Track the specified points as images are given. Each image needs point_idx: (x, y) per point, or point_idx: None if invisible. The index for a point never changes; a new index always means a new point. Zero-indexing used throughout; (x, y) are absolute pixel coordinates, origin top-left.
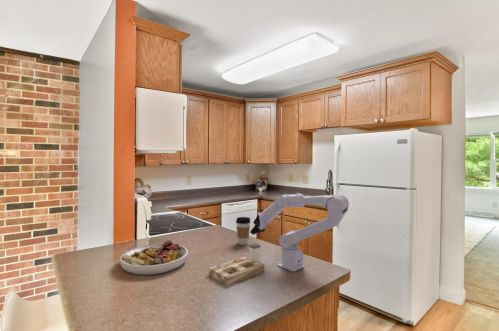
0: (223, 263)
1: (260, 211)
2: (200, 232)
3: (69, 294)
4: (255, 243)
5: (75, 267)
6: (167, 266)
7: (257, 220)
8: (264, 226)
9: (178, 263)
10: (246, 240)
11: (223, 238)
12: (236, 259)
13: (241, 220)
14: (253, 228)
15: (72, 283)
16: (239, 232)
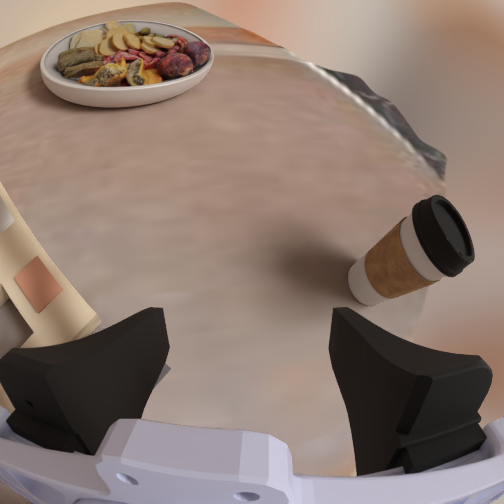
0: (20, 216)
1: (480, 384)
2: (388, 147)
3: (24, 38)
4: (162, 373)
5: (125, 13)
6: (45, 81)
7: (352, 360)
8: (19, 492)
9: (63, 94)
10: (368, 294)
11: (379, 206)
12: (57, 270)
13: (430, 219)
14: (91, 337)
15: (61, 27)
16: (381, 243)
